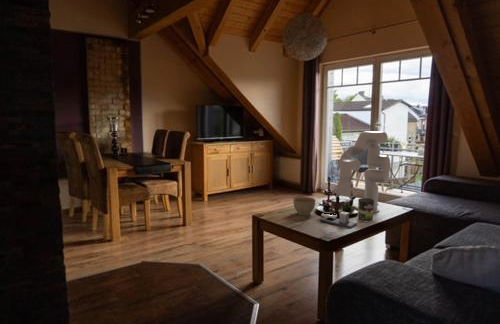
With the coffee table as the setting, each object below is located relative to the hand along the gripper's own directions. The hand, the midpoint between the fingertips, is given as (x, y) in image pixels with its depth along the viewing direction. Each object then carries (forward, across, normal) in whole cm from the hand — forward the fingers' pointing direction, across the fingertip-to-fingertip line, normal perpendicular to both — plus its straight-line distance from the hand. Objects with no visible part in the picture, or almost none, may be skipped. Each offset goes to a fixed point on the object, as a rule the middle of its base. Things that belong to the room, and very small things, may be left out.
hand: (344, 204), depth 239 cm
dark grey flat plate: (+14, +4, -1) cm, 14 cm away
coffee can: (+14, -6, -20) cm, 25 cm away
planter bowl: (+14, +33, -3) cm, 36 cm away
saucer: (+14, +17, -11) cm, 24 cm away
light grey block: (+14, 0, -1) cm, 14 cm away
